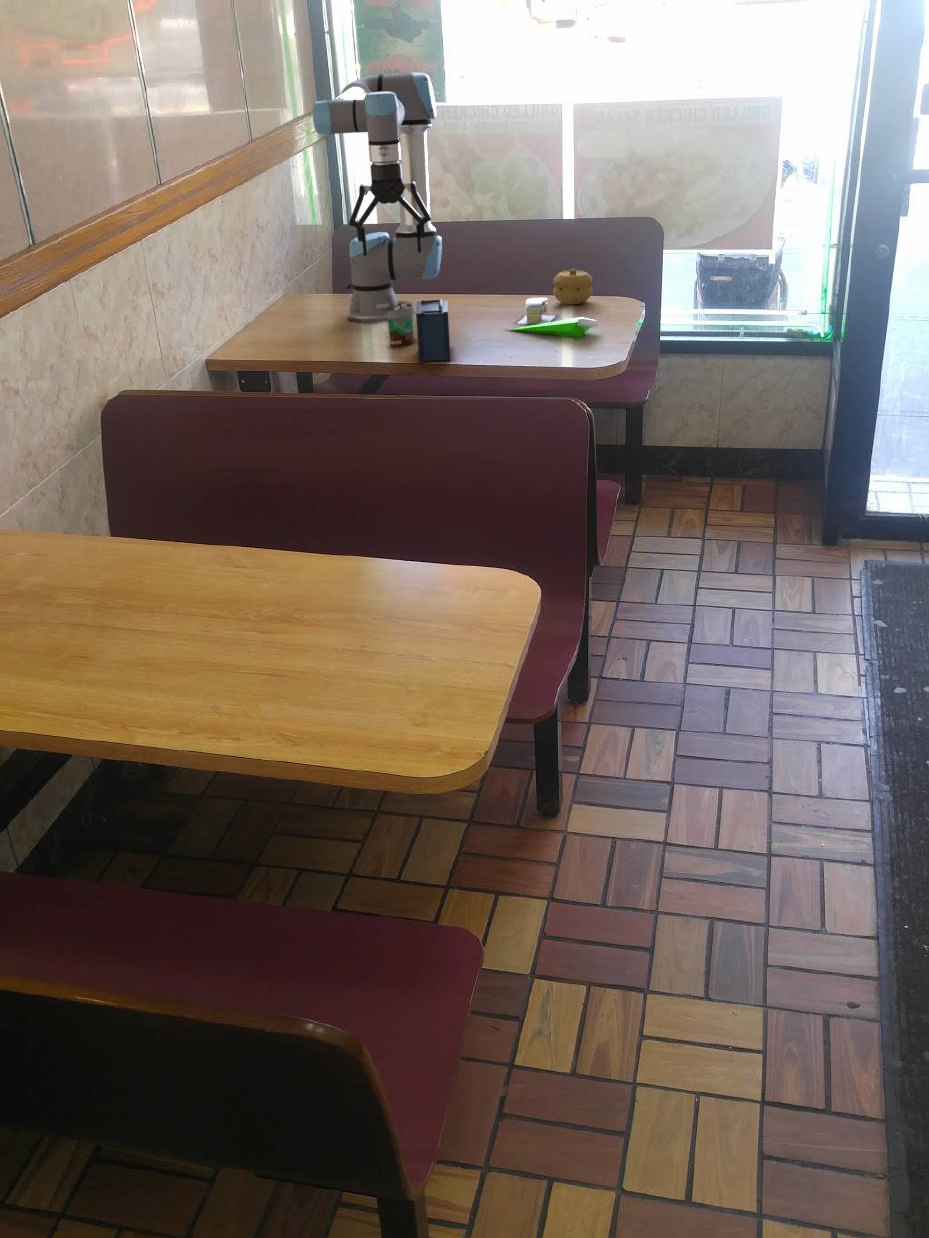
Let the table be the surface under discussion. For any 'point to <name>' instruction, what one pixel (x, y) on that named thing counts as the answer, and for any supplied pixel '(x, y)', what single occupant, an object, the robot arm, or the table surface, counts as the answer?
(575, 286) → the pot
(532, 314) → the stacked layers on plate
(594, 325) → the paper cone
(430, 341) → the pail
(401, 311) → the food container
